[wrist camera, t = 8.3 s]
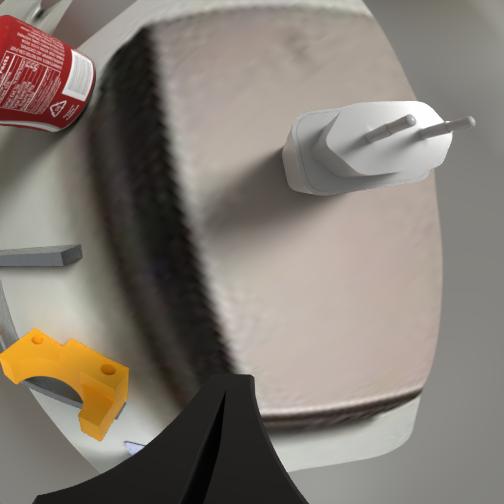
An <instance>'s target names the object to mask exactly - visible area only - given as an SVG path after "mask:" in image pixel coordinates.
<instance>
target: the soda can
mask: <svg viewBox="0 0 504 504" xmlns="http://www.w3.org/2000/svg"><path fill="white" fill-rule="evenodd" d="M95 81H96V68H95V65H94V62H93V61H92V60H91V58H89V57H88V56H86V55H84V54H83V53H81V52H79V51H78V50H76V49H74V48H72V47H71V46H69V45H67V44H65V43H63V42H62V41H60V40H58V39H56V38H54V37H53V36H51V35H49V34H47V33H45V32H43V31H41V30H39V29H37V28H35V27H33V26H31V25H29V24H27V23H25V22H23V21H21V20H19V19H17V18H14V17H12V16H10V15H4V16H0V126H10V127H18V128H26V129H34V130H41V131H47V132H57V131H60V130H63V129H65V128H66V127H68V126H69V125H70V124H71V123H73V122H74V121H75V120H76V119H77V118H78V116H79V115H80V114H81V113H82V111H83V110H84V108H85V107H86V105H87V103H88V101H89V99H90V97H91V95H92V92H93V89H94V86H95Z"/></svg>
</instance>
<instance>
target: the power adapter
mask: <svg viewBox="0 0 504 504" xmlns="http://www.w3.org/2000/svg"><path fill="white" fill-rule="evenodd" d="M474 126H475V120H474V119H473V118H472V117H471V116H468V117H465V118H461V119H457V120H454V121H447V122H444V121H443V120H442V119H441V118H440V117H439V116H438V115H437V113H436V112H435V111H434V110H433V109H432V108H431V107H429V106H428V105H427V104H424V103H422V102H413V101H391V102H364V103H355V104H350V105H348V106H346V107H343V108H333V109H324V110H316V111H309V112H306V113H303V114H301V115H299V116H298V117H297V118H296V119H295V121H294V123H293V126H292V128H291V130H290V133H289V135H288V138H287V140H286V143H285V145H284V148H283V150H282V160H283V165H284V169H285V174H286V178H287V183H288V185H289V187H290V188H291V189H292V190H294V191H296V192H302V193H308V194H314V195H320V196H330V195H336V194H342V193H348V192H354V191H360V190H366V189H372V188H378V187H385V186H392V185H398V184H405V183H413V182H419V181H422V180H423V179H425V178H426V177H427V176H428V174H429V171H430V168H434V167H437V166H439V165H440V164H442V162H443V160H444V159H445V156H446V154H447V151H448V148H449V146H450V143H451V141H452V132H453V131H457V130H461V129H466V128H470V127H474Z"/></svg>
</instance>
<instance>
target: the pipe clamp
mask: <svg viewBox="0 0 504 504" xmlns="http://www.w3.org/2000/svg"><path fill="white" fill-rule="evenodd" d="M0 361H1V364H2V367H3V370H4V374H5V375H6V376H7V377H9V379H10V380H12V381H13V382H14V383H15V384H16V385H17V384H18V383H19V382H21V381H22V380H24V379H27V378H30V377H34V376H48V377H53V378H56V379H59V380H61V381H63V382H65V383H67V384H68V385H70V386H71V387H72V388H73V389H74V390H75V391H76V392H77V393H78V394H79V395H80V397H81V398H82V400H83V406H82V409H81V411H80V413H79V415H78V417H79V422H80V426H81V430H82V432H84V433H86V434H88V435H89V436H91V437H93V438H95V439H97V440H99V441H102V439H103V437H104V436H105V434H106V432H107V431H108V429H109V427H110V426H111V424H112V422H113V421H114V419H115V417H116V416H117V414H118V412H119V411H120V409H121V407H122V406H123V404H124V402H125V401H126V399H127V394H128V378H129V368H127V367H125V366H123V365H121V364H119V363H117V362H115V361H113V360H111V359H109V358H107V357H105V356H103V355H101V354H99V353H97V352H95V351H93V350H92V349H90V348H88V347H86V346H84V345H83V344H81V343H79V342H77V341H76V340H74V339H71V340H70V341H68V342H67V343H66V344H65V345H64V346H62V345H61V344H59V343H58V342H56V341H55V340H53V339H52V338H50V337H49V336H47V335H46V334H44V333H43V332H41V331H40V330H38V329H37V328H34V329H33V330H32V331H30V332H29V333H28V334H26V335H25V336H24V337H22V338H21V339H20V340H18V341H17V342H16V343H14V344H13V345H12V346H10V347H9V348H8V349H6V350H5V351H4V352H3V353H1V354H0Z"/></svg>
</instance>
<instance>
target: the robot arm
mask: <svg viewBox="0 0 504 504" xmlns="http://www.w3.org/2000/svg"><path fill="white" fill-rule="evenodd" d="M125 446H126V448H127V449H128V451H129V453H130V454H131V457H130V458H128V459H126V460H125V461H123V462H122V463H120V464H119V465H117V466H115V467H114V468H112V469H110V470H108V471H106V472H105V473H103V474H100V475H98V476H96V477H94V478H92V479H89V480H87V481H85V482H83V483H81V484H78V485H75V486H73V487H69V488H66V489H62V490H59V491H55V492H51V493H47V494H43V495H38V496H37V497H36V499H35V500H34V502H33V503H32V504H309V503H308V502H307V501H306V499H305V498H304V497H303V495H302V494H301V493H300V491H299V490H298V489H297V487H296V486H295V484H294V483H293V481H292V480H291V479H290V476H289V475H288V473H287V472H286V470H285V468H284V466H283V465H282V463H281V461H280V459H279V457H278V456H277V454H276V452H275V450H274V448H273V445H272V443H271V441H270V439H269V436H268V434H267V432H266V429H265V427H264V424H263V421H262V418H261V415H260V412H259V409H258V405H257V401H256V397H255V382H254V377H253V376H252V375H245V374H212V375H211V376H210V377H209V378H208V380H207V381H206V382H205V384H204V385H203V386H202V388H201V389H200V390H199V392H198V393H197V394H196V395H195V397H194V398H193V399H192V400H191V402H190V403H189V404H188V405H187V406H186V407H185V408H184V409H183V411H182V412H181V413H180V414H179V415H178V416H177V417H176V418H175V419H174V420H173V421H172V422H171V423H170V424H169V425H168V426H167V427H166V428H165V429H164V430H163V431H162V432H161V433H160V434H159V435H158V436H157V437H156V438H154V439H153V440H152V441H151V442H150V443H148V444H147V445H146V446H141V445H137V444H133V443H129V442H126V443H125Z"/></svg>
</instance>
